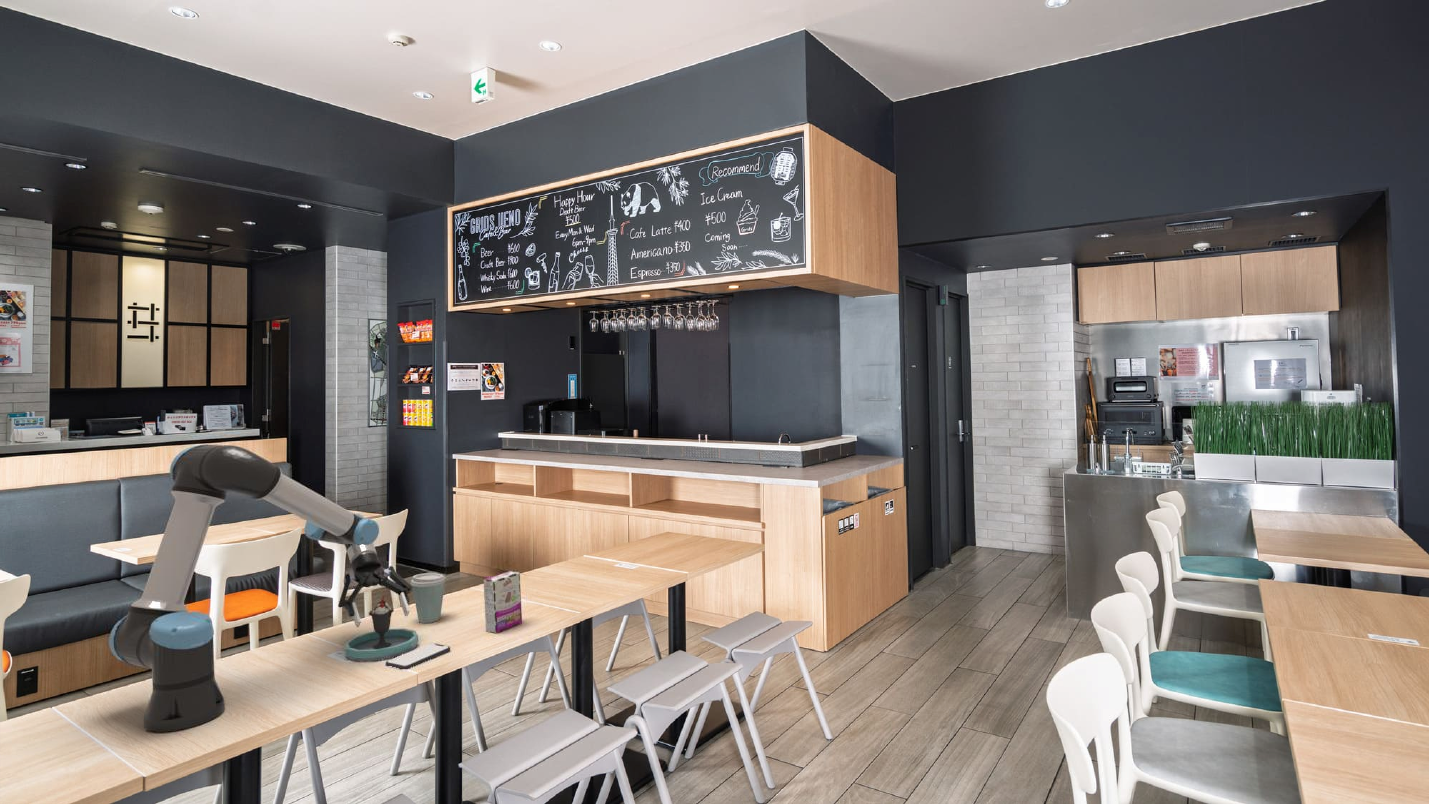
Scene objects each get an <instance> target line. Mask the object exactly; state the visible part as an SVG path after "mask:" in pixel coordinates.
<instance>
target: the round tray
mask: <svg viewBox="0 0 1429 804" xmlns="http://www.w3.org/2000/svg"><path fill="white" fill-rule="evenodd" d="M384 639H385V641H386V642H387V643H391V644H392V645H391V646H389V647H387V648H382V649H375V648H373V646H374V645H376V644H378V643H379V641H380V635H379V634H378V633H376V632H375V631H373V630H372V631H369V632H365V633H363V634H359V635H357V636H353V637H352V638H350V639H349V640H347V641H346V642H345V643H344V653H345V654H344V655H345V658H346V660H349V661H353V662H357V661H372V662H379V661H378V660H380V661H383V660H382V659H386V660H390V659H389V658H391V659H393V658H392V657H395V656H400V655H402V654H405V653H408V652H410V651H413V649H414V650H415V649H417V647H418V643H419V635H418V633H417V630H413V629H409V628H389V630H388V631H387V632H386V633H385V634H384ZM416 646H417V647H416ZM395 658H396V657H395Z"/></svg>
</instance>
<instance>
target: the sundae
mask: <svg viewBox="0 0 1429 804" xmlns="http://www.w3.org/2000/svg"><path fill="white" fill-rule="evenodd" d="M384 598H385V595H383V596H382V598H381V600H380V601H379V602H377V604H376V605H375V608H373V609H372V610H370V611H369V612H368V615H369V616H371V619H372V626H373V627H372V628H373V630H374V631H375V632H376V633H378V634H379V635H380V641H379V643H378V644H376V645H374V646H373V648H375V649H382V648H387V647H389V646H391V645H392V644H391V643H387V642H386V641H385V639H384V634H385V633H386V632H387V631H388V630H389V629H390V626H391V619H392V618H391V617H392V615H393V614H392V613H393V612H394V611H395V610H394V609H393V608H392V607H391V606H390V605H389V603H388V602H386V600H385V599H384Z"/></svg>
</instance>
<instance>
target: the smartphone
mask: <svg viewBox="0 0 1429 804" xmlns="http://www.w3.org/2000/svg"><path fill="white" fill-rule="evenodd" d="M449 651H450V652H451V646H449V645H446V644H445V645H444V644H440V643H433V642H431V643H427V644H425V645H423V646H420V647H418V648H417V647H416V648H415V649H414V650H412V651H410V652H408V653H405V654H403V655H400V656H398V657H395V658H391V659H387V660H386V662H385V666H386V667H389V666H392V667H391V668H393V667H396V668H395V669H397V668H399V669H398V670H402V669H406V670H410V669H411V667H412V668H414V667H416V665H417V666H419V665H421V663H422V664H424V663H426V662H428V660H429V661H431V660H433V659H436V658H438V657H441V656H443V655H445V654H448V653H450V652H449ZM437 656H438V657H437ZM430 659H431V660H430ZM425 661H426V662H425ZM423 662H424V663H423ZM418 664H419V665H418ZM413 666H414V667H413Z"/></svg>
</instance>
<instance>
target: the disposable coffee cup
mask: <svg viewBox="0 0 1429 804" xmlns="http://www.w3.org/2000/svg"><path fill="white" fill-rule="evenodd" d="M445 583H446V577H445V576H444V575H443V574H442V573H441V574H440V573H435V572H434V573H431V572H429V573H428V572H427V573H419V574H415V575H413V576H412V579H411V580H410V585H411V586H412V592H413V593H412V594H413V597H414V603H415V607H416V614H417V619H418V621H419V623H420V624H431V622H432V623H435V622H434V621H436V622H438V621H439V620H440V619H441V614H442V607H443V600H444V591H445V585H446V584H445ZM438 619H439V620H438Z"/></svg>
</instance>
